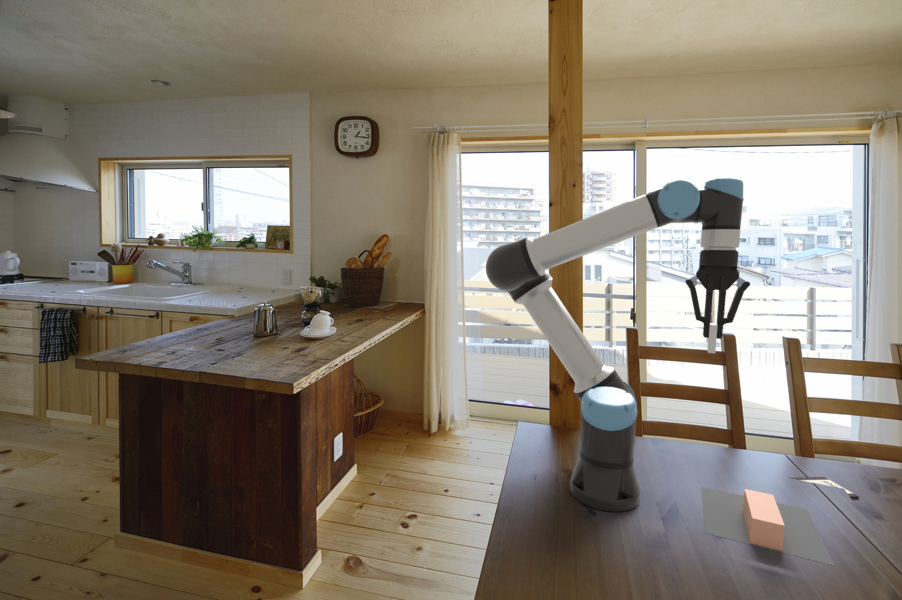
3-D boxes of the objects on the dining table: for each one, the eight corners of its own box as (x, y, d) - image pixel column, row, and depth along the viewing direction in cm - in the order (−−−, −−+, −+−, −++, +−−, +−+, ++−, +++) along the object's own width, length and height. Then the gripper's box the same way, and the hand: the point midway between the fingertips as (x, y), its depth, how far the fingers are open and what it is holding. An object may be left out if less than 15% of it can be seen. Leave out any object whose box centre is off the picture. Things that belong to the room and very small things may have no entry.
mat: (704, 535, 90) (705, 532, 90) (701, 488, 107) (701, 486, 107) (834, 568, 81) (834, 565, 81) (806, 511, 98) (806, 509, 98)
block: (742, 511, 97) (750, 543, 87) (744, 488, 97) (752, 518, 86) (770, 517, 95) (782, 551, 84) (773, 494, 95) (784, 525, 84)
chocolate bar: (754, 478, 112) (824, 477, 113) (754, 481, 112) (824, 480, 113) (783, 497, 103) (858, 496, 104) (782, 501, 103) (858, 500, 104)
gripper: (751, 249, 103) (742, 352, 106) (686, 249, 109) (679, 346, 112) (756, 249, 97) (746, 358, 99) (686, 248, 103) (679, 352, 105)
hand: (711, 351), depth 106 cm, fingers closed
